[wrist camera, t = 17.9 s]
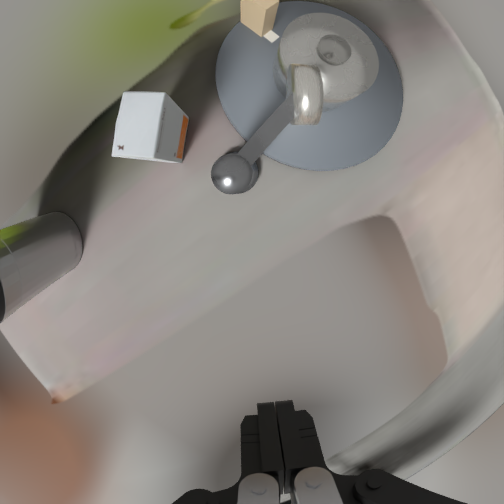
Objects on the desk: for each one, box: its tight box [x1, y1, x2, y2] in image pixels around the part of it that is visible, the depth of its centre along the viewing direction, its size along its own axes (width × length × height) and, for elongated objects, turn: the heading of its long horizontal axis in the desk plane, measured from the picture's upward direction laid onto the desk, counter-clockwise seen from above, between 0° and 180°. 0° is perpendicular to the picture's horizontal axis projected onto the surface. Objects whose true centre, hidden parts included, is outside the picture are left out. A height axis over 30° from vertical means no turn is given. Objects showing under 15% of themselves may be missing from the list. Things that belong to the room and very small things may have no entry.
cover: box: [273, 13, 379, 112], centre depth 24 cm, size 10×10×8 cm
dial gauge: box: [211, 64, 324, 194], centre depth 24 cm, size 8×10×18 cm
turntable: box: [215, 0, 403, 171], centre depth 26 cm, size 24×24×9 cm
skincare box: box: [112, 91, 189, 163], centre depth 26 cm, size 6×4×12 cm
